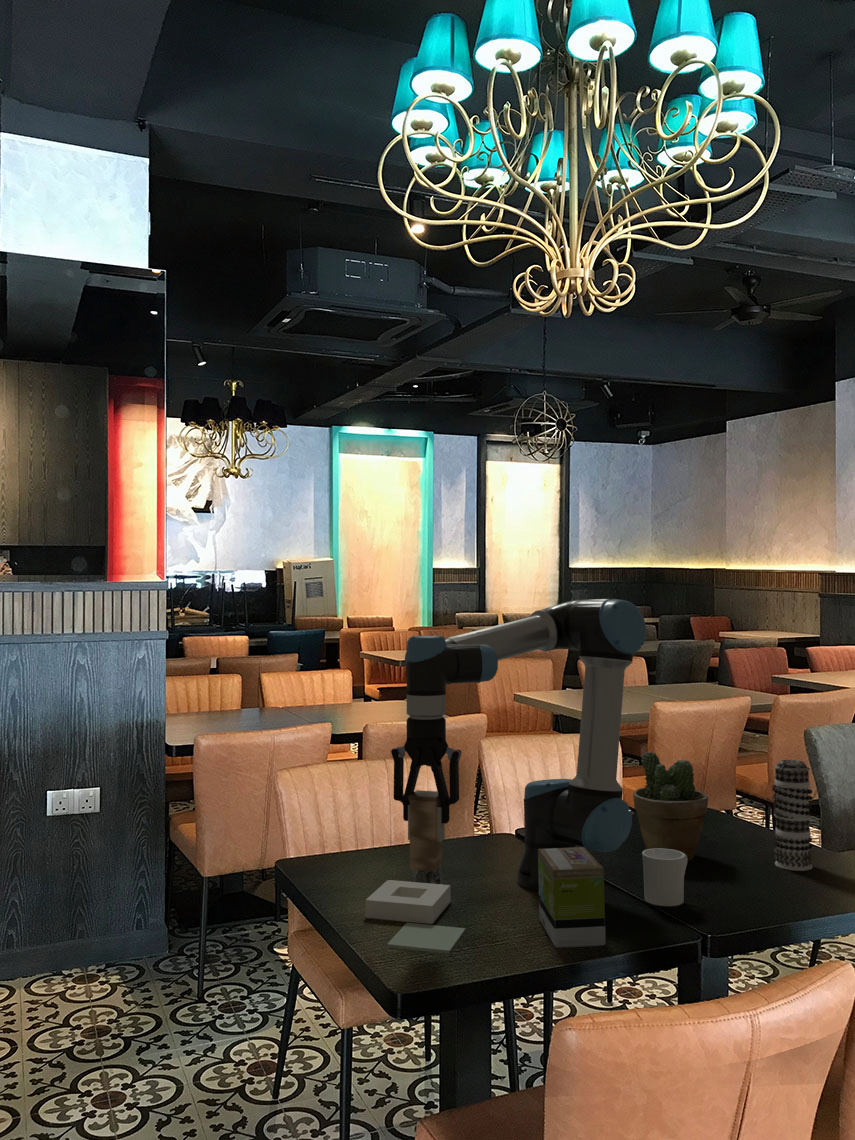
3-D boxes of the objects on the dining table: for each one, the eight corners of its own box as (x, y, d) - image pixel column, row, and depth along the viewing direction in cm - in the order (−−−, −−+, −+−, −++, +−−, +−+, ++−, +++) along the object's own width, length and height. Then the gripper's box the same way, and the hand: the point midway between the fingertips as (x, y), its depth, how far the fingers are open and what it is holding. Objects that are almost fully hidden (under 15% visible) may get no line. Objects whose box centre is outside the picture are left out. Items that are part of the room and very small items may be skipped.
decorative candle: (772, 869, 223) (770, 763, 224) (773, 858, 232) (772, 757, 233) (813, 873, 220) (812, 765, 221) (813, 862, 229) (811, 759, 229)
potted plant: (718, 852, 238) (716, 753, 239) (696, 870, 222) (695, 764, 223) (648, 843, 248) (647, 748, 249) (622, 859, 232) (621, 758, 233)
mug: (662, 912, 193) (661, 861, 193) (633, 900, 201) (633, 851, 201) (702, 904, 198) (701, 854, 198) (672, 892, 206) (672, 845, 206)
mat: (465, 931, 182) (465, 928, 182) (449, 953, 171) (449, 950, 171) (406, 925, 186) (406, 922, 186) (387, 947, 174) (387, 944, 174)
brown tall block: (443, 864, 180) (443, 791, 181) (436, 871, 175) (435, 797, 176) (416, 861, 182) (416, 790, 182) (408, 869, 177) (408, 795, 177)
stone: (448, 842, 210) (408, 836, 215) (434, 880, 203) (393, 874, 207) (458, 867, 216) (419, 862, 220) (445, 905, 209) (404, 899, 213)
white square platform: (450, 904, 199) (450, 885, 199) (432, 926, 185) (432, 905, 185) (387, 898, 203) (387, 879, 203) (365, 919, 189) (365, 899, 189)
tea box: (537, 921, 188) (536, 846, 189) (586, 919, 189) (585, 845, 190) (553, 948, 173) (553, 868, 174) (607, 946, 174) (606, 866, 175)
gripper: (476, 715, 181) (476, 837, 180) (387, 712, 186) (387, 831, 185) (467, 720, 173) (467, 847, 173) (375, 717, 178) (375, 840, 178)
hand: (426, 838), depth 179 cm, fingers closed on brown tall block, 5 cm apart
